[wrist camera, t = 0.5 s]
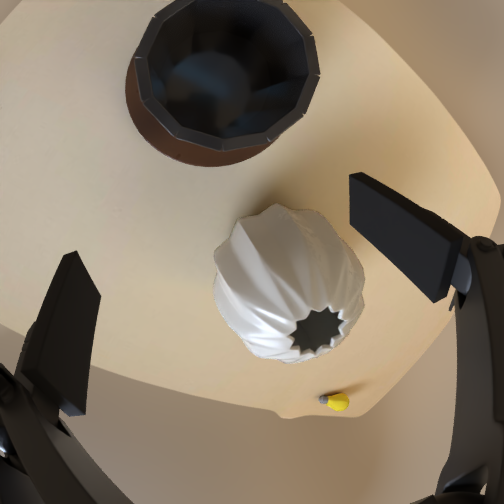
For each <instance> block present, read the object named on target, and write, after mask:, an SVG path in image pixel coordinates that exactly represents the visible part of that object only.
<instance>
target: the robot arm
mask: <svg viewBox="0 0 504 504" xmlns="http://www.w3.org/2000/svg"><path fill="white" fill-rule="evenodd" d="M349 196H350V225H351V226H352V227H353V228H355V229H356V230H357V231H358V232H359V233H360V234H361V235H363V236H364V237H365V238H366V239H367V240H368V241H369V242H370V243H371V244H373V245H374V246H375V247H376V248H377V249H378V250H379V251H380V252H381V253H382V254H384V255H385V256H386V257H387V258H388V259H389V260H390V261H391V262H392V263H393V264H394V265H395V266H396V267H397V268H398V269H399V270H400V271H402V272H403V273H404V274H405V275H406V276H407V277H408V278H409V279H410V280H411V281H412V282H413V283H414V284H415V285H416V286H417V287H418V288H419V289H420V290H421V291H422V292H423V293H424V294H425V295H426V296H427V297H428V298H429V299H430V300H431V301H432V302H433V303H436V302H438V301H439V300H441V299H443V298H445V297H447V294H448V291H449V288H450V285H452V286H453V287H454V288H456V290H455V293H454V296H453V299H452V301H451V304H450V307H449V311H451V310H452V308H453V306H454V305H455V316H456V334H457V390H456V405H455V417H454V427H453V435H452V442H451V449H450V454H449V457H448V460H447V462H446V464H445V465H444V467H443V469H442V471H441V474H440V477H439V481H438V484H437V488H436V492H435V496H434V495H431V496H428V497H426V498H423V499H421V500H418V501H416V502H413V503H410V504H504V244H501V245H497V244H496V243H495V242H494V241H492V240H491V239H489V238H486V237H483V236H475V237H472V238H470V237H469V236H467V235H466V234H464V233H463V232H462V231H460V230H459V229H457V228H456V227H455V226H453V225H452V224H450V223H448V222H447V221H446V220H444V219H442V218H441V217H440V216H438V215H437V214H435V213H434V212H432V211H429V210H427V209H424V208H422V207H420V206H419V205H417V204H415V203H414V202H412V201H411V200H409V199H408V198H406V197H404V196H403V195H401V194H399V193H398V192H396V191H394V190H393V189H391V188H389V187H388V186H386V185H384V184H382V183H381V182H379V181H377V180H376V179H374V178H372V177H370V176H368V175H367V174H365V173H363V172H359V173H354V174H349ZM100 300H101V295H100V293H99V292H98V290H97V288H96V286H95V284H94V283H93V281H92V279H91V277H90V275H89V273H88V272H87V270H86V268H85V266H84V264H83V262H82V260H81V258H80V256H79V254H78V252H77V251H74V252H71V253H68V254H65V255H63V257H62V260H61V262H60V264H59V266H58V268H57V270H56V273H55V275H54V277H53V279H52V282H51V284H50V286H49V289H48V291H47V294H46V296H45V299H44V301H43V304H42V306H41V309H40V312H39V314H38V317H37V320H36V322H34V323H33V324H32V326H31V327H30V329H29V330H28V332H27V335H26V338H25V341H24V343H25V344H23V347H22V352H21V353H20V357H19V360H18V363H17V367H16V370H15V374H14V376H13V375H12V374H11V373H10V372H9V371H8V370H7V369H6V368H5V366H4V365H3V364H2V363H0V449H1V450H2V451H4V454H5V457H2V456H1V455H0V504H134V503H133V502H132V501H131V500H130V499H129V498H128V497H126V496H125V494H124V493H122V491H121V490H120V489H119V488H118V487H117V486H116V485H115V484H114V483H113V482H112V481H111V480H110V479H109V478H108V476H107V475H106V474H105V473H104V472H103V471H102V470H101V469H100V468H99V466H98V465H97V464H96V463H95V462H94V460H93V459H92V458H91V457H90V455H89V454H88V453H87V452H86V451H85V449H84V448H83V447H82V445H81V444H80V443H79V441H78V440H77V439H76V437H75V436H74V435H73V433H72V432H71V431H70V429H69V428H68V426H67V425H66V423H65V422H64V421H63V420H62V419H61V418H59V409H61V410H62V411H63V412H64V413H66V414H67V415H68V416H69V417H70V416H80V415H85V414H86V399H87V388H88V378H89V369H90V361H91V353H92V346H93V339H94V333H95V327H96V321H97V315H98V310H99V305H100ZM486 483H487V486H486V491H485V495H481V494H480V492H481V489H482V488H483V486H484V485H485V484H486Z"/></svg>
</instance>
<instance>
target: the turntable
mask: <svg viewBox="0 0 504 504" xmlns="http://www.w3.org/2000/svg"><path fill="white" fill-rule="evenodd" d="M136 51H137V49H136ZM136 51H135V53H136ZM135 53H134V55H135ZM134 55H133V57H132V59H131V61H130V64H129V67H128V71H127V76H126V85H125V94H126V102H127V106H128V110H129V113H130V116H131V118H132V120H133V123H134V124H135V126H136V128H137V129H138V131H139V132H140V134H141V135H142V136H143V137H144V138H145V140H146V141H147V142H148V143H149V144H151V145H152V146H153V147H154V148H155V149H157V150H158V151H159V152H161V153H162V154H164V155H166V156H168V157H170V158H172V159H174V160H176V161H179V162H182V163H185V164H190V165H194V166H203V167H219V166H226V165H231V164H235V163H239V162H242V161H244V160H247V159H249V158H251V157H253V156H255V155H257V154H259V153H260V152H262V151H263V150H265V149H266V148H267V147H269V146H270V145H271V144H272V143H273V142H274V141H275V140H277V139H278V137H279V136H280V135H279V136H278V137H277V138H276V139H274V140H273V141H272V142H268V143H267V144H264V145H258V146H252V147H247V148H241V149H236V150H231V151H226V152H223V151H222V150H221V151H220V152H219V151H216V150H212V149H209V148H206V147H203V146H200V145H196V144H193V143H190V142H186V141H183V140H179V139H176V135H175V136H172V135H171V134H170V133H169V132H168V131H167V130H166V129H165V128H164V127H163V126H162V125H161V124H160V123H159V121H158V120H157V119H156V118H155V117H154V116H153V115H152V114H151V113H150V112H149V111H148V110H147V109H146V108H145V107H144V106H143V102H141V100H140V94H139V88H138V83H137V77H136V71H135V65H134V59H136V58H135V57H134Z"/></svg>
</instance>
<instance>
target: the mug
mask: <svg viewBox="0 0 504 504" xmlns="http://www.w3.org/2000/svg"><path fill="white" fill-rule="evenodd" d="M154 16H155V17H152V19H151V21H150V23H149V25H148V27H147V29H146V31H145V33H144V35H143V37H142V40H141V42H140V44H139V46H138V48H137V51H136V53H135V55H134V57H135V58H136V59H134V65H135V71H136V77H137V83H138V88H139V94H140V100H141V102H143V106H144V107H145V108H146V109H147V110H148V111H149V112H150V113H151V114H152V115H153V116H154V117H155V118H156V119H157V120H158V121H159V123H160V124H161V125H162V126H163V127H164V128H165V129H166V130H167V131H168V132H169V133H170V134H171V135H172V136H175V135H176V139H179V140H183V141H186V142H190V143H193V144H196V145H200V146H203V147H206V148H209V149H212V150H216V151H219V152H220V151H221V150H222V151H223V152H226V151H231V150H236V149H241V148H247V147H252V146H258V145H264V144H267V143H268V142H272V141H273V140H274V139H276V138H277V137H278V136H279V135H281V134H282V133H283V132H284V131H286V130H287V129H288V128H289V127H291V126H292V125H293V124H295V123H296V122H297V121H298V120H300V119H301V118H302V117H303V114H306V112H307V109H308V107H309V104H310V102H311V99H312V97H313V94H314V92H315V89H316V87H317V84H318V82H319V79H320V77H319V76H318V75H320V68H319V62H318V57H317V51H316V46H315V40H314V36H310V35H312V32H311V31H310V30H309V29H308V27H307V26H306V25H305V24H304V23H303V21H302V20H301V19H300V18H299V17H298V15H297V14H296V13H295V12H294V11H293V10H292V9H291V7H290V6H289V5H288V4H287V3H283V0H175V1H173V2H172V3H171V4H169V5H168V6H166V7H165V8H163V9H162V10H160V11H159V12H158V13H156V14H155V15H154Z"/></svg>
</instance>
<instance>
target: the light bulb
mask: <svg viewBox="0 0 504 504" xmlns="http://www.w3.org/2000/svg"><path fill="white" fill-rule="evenodd" d="M319 401H320V403H323V404H326V405H327V406H330V407H331V408H332V409H333V410H335V411H343V410H345V409H346V408H347V407H348V405H349V398H348V397H347V395H345V394H343V393H339V394H335V395H333V396H328V397H326V396H321V397H320V398H319Z"/></svg>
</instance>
